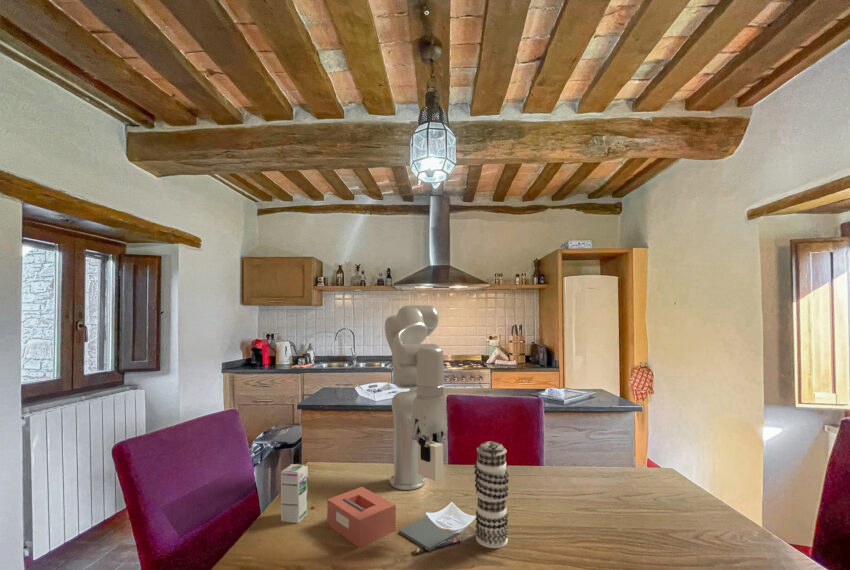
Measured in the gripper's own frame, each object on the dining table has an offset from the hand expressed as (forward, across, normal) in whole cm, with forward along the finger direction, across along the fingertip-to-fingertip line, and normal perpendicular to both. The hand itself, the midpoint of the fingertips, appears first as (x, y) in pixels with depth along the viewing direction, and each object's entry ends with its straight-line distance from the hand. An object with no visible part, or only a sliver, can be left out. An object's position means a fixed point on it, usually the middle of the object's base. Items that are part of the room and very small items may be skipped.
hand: (430, 458), depth 116 cm
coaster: (+20, 0, 0) cm, 20 cm away
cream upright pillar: (+5, 0, 0) cm, 5 cm away
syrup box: (+20, +23, -34) cm, 46 cm away
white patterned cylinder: (+21, -10, +13) cm, 26 cm away
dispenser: (+20, +12, -16) cm, 28 cm away
